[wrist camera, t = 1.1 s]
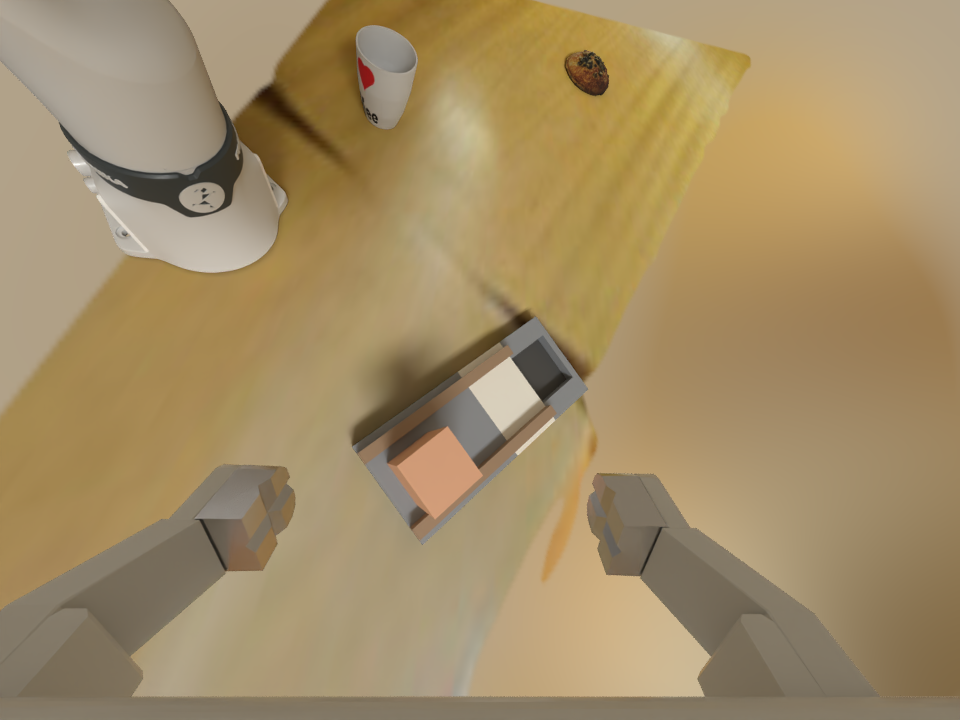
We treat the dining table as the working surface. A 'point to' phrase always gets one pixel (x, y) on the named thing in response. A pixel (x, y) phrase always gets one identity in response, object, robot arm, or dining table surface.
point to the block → (435, 471)
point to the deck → (479, 416)
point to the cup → (384, 74)
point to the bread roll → (588, 72)
